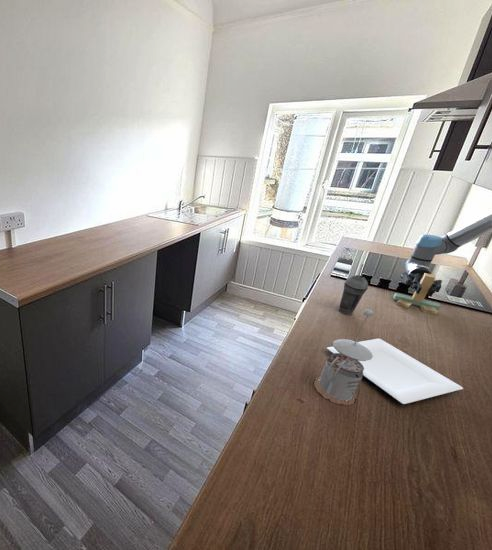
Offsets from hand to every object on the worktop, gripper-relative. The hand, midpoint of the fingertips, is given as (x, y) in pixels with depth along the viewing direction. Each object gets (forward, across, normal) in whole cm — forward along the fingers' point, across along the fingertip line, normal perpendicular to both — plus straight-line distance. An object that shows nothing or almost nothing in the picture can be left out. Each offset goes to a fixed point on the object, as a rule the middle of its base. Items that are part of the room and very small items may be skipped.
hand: (425, 292), depth 116 cm
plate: (+54, +11, -9) cm, 56 cm away
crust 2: (-2, -4, -8) cm, 10 cm away
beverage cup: (+21, +23, -9) cm, 32 cm away
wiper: (-6, 0, -8) cm, 11 cm away
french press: (+74, +22, -9) cm, 78 cm away
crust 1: (-2, +4, -8) cm, 10 cm away
